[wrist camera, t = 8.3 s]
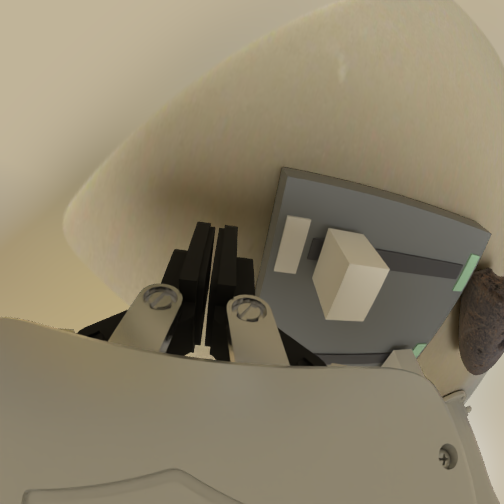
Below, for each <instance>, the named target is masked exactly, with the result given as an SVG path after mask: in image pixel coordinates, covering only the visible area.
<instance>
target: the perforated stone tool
mask: <svg viewBox="0 0 504 504" xmlns="http://www.w3.org/2000/svg"><path fill="white" fill-rule="evenodd" d="M459 350H460V355H461V358H462V361H463V363H464V365H465V367H466V369H467V370H468V371H469V372H470V373H471V374H473V375H480V374H483V373H484V372H486V371H487V370H489V369H490V368H491V367H492V366H493V365H494V364H495V363H496V362H497V361H498V359H499V358H500V357H501V355H502V354H503V352H504V277H500V276H497V275H496V274H495V273H494V272H493V271H492V269H489V268H486V269H485V270H480V271H474V272H473V274H472V276H471V278H470V279H469V281H468V283H467V285H466V287H465V288H464V290H463V294H462V297H461V306H460V316H459Z"/></svg>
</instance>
